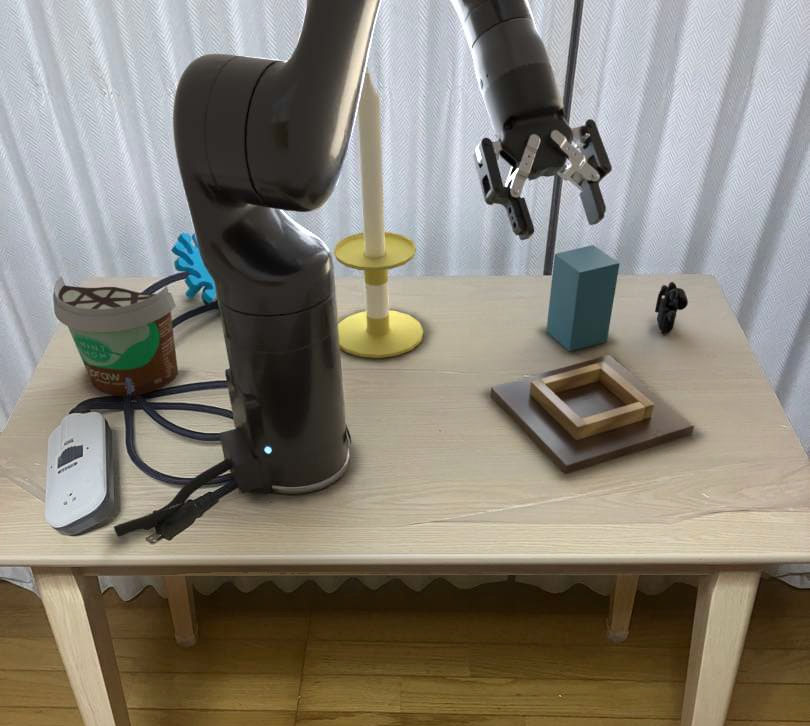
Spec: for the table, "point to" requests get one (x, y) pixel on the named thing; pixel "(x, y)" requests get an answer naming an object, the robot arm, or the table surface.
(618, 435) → the square wooden socket base
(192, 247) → the blue branched piece
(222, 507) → the table surface
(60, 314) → the food container
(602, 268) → the post block
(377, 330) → the candle
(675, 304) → the wireless earbuds
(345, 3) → the robot arm
